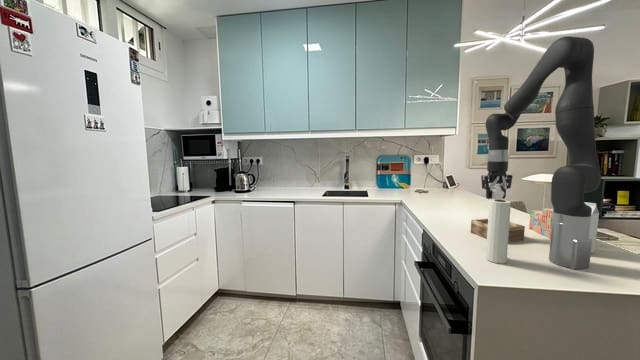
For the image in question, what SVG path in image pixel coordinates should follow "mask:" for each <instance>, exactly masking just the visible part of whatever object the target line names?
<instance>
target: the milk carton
mask: <svg viewBox="0 0 640 360" xmlns="http://www.w3.org/2000/svg"><path fill="white" fill-rule="evenodd" d="M584 203H585V204H586V205H588V206H590V207H591V209H592V213H591V222H590V231H589V239H591V240H592V248H591V254H593V253H595V252H596V245H597V244H596V243H597V236H598V228H599V227H598V226H599V219H600V218H599V215H600V212H599V210H598V207H597V203H595V202H587V201H586V202H585V201H584Z"/></svg>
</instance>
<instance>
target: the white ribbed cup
mask: <svg viewBox="0 0 640 360" xmlns="http://www.w3.org/2000/svg"><path fill="white" fill-rule="evenodd" d="M503 195H504V192H503V191H502V190H501V187H500V186H499V185H498V184H496V185H495V186H494V187H493V189H492V199H499V200H503V199H502V198H503Z"/></svg>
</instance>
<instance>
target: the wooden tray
mask: <svg viewBox="0 0 640 360" xmlns="http://www.w3.org/2000/svg"><path fill="white" fill-rule="evenodd" d="M525 229H526V226H525V225H523V224H518V223H515V222H512V221H510V222H509V236H508V243H509V242H519V241H524V239H525ZM487 230H488V218H480V219H479V218H476V219H471V221H470V234H472V235H475V236H477V237H480V238H483V239H486V240H487Z"/></svg>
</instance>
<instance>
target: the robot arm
mask: <svg viewBox="0 0 640 360" xmlns="http://www.w3.org/2000/svg"><path fill="white" fill-rule="evenodd" d="M594 58H595V47H594V43H593V41H592V40H590V39H589V38H586V37H578V36H570V35H569V36H562V37H560V38H558V39H556V40H555V41H554V42H552V43H551V44H550V46H549V47H547V49H546V51H545V52H544V53H543V55H542V56H541V58H540V59H539V60H538V62H537V63H536V65H535V66H534V68H533V69H532V71H531V72H530V74H528V77H527V78H526V79H525V81H524V82H523V83H522V85H520V87H519V88H518V89H517V90H516V91H515V92H514V94H513V95H512V96H511V97H510V98H509V99H508V100H507V101H506V102H505V104H504V106H503V109H504V111H505V112H504V113H492V114H490V115H488V117H487V118H486V120H485V131H486V133H487V137H488V152H487V153H488V154H487V163H486V164H487V167H486V170H487V172H488V173H487V174H486V175H481V177H480V178H481V189H483V190H486V191H485V192H486V193H485V197H486V199H488V200H489V198H490V199H492V189H493V187H494V186H496V185H497V186H500V187H501V190H502V191H503V192H504V195H503V198H502V199H501V200H504V199H506V196H507V190H508V189H511V187H512V182H513V181H512V180H513V174H507V172H508V170H509V158H510V157H509V156H510V155H509V146H510V145H509V142H510V141H509V137H508V136H506V135H503V134H502V133H503V132H502V131H507V130H510V129H512V128H513V127H514V126H515V124H516V123H517V122H518V120H519V118H520V117H521V115H522V114H523V112H524V111H525V110H526V109H528V108H529V106H530V105H531V104H532V103H533V102H534V101H535V100H536V99H537V97H538V96H539V93H540V91H541V89H542V86H543V84H544V82H545V81H546V79H547V78H548V77H549V76H550V75H551V74H552V73H554V72H555V71H556V70H558V69H559V68H561V69H564V70H563V71H564V81H565V83H564V87H563V88H564V89H563V91H562V93H561V95H560V97H559V99H558V100H557V103H556V106H555V108H554V109H555V112H554V113H555V114H554V115H555V127H556V131H557V133H558V135H559V137H560V138H561V141H563V143H564V145H565V147H566V149H567V151H568V155H569V157H568V159H569V165H564V166H560V167H559V168H557V169H556V170H555V171H554V173H553V174H552V178H551V185H550V187H551V188H550V202H551V205H552V207H553V208H552V209H553V219H552V229H551V239H549V240H550V242H549V253H548V261H550V262H551V263H553V264H555V265H557V266H560V267H565V268H570V269H572V270H580V269H581V270H582V269H583V270H584V269H589V268H590V266H591V265H590V263H591V256H592V253H591V248H592V240H591V239H589V231H590V222H591V213H592V209H591V207H590V206H588V205H586V204H585V203H584V202H585V194H588V193H589V194H590V193H592V192H595V191H596V190H597V189H598V188H599V187H600V186H601V183H602V172H601V167H600V163H599V162H600V161H599V159H598V153H597V145H596V142H597V141H596V131H595V129H596V128H595V107H594V105H595V104H594V97H593V95H594V93H593V91H594V90H593V70H594V69H593V68H594Z"/></svg>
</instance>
